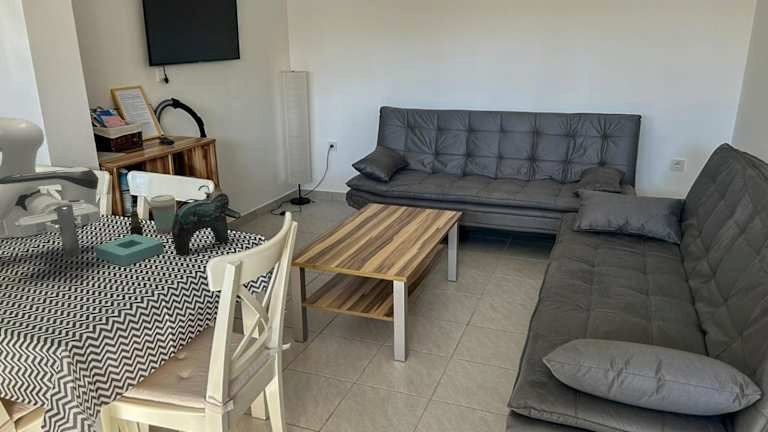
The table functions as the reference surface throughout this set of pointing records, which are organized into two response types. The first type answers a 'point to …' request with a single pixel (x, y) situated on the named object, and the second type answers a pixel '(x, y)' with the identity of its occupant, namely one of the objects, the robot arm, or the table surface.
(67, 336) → the table surface
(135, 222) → the hand tool
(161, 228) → the coffee cup
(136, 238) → the socket block
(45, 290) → the table surface
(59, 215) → the steel pin
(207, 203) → the ceramic cat
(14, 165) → the robot arm
